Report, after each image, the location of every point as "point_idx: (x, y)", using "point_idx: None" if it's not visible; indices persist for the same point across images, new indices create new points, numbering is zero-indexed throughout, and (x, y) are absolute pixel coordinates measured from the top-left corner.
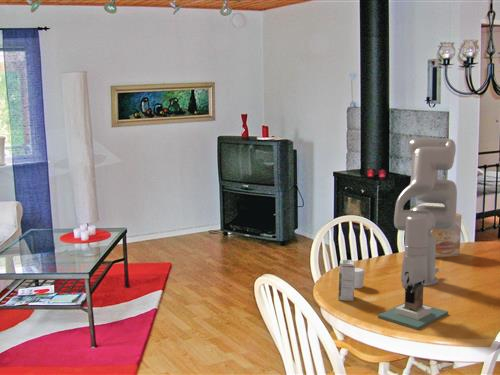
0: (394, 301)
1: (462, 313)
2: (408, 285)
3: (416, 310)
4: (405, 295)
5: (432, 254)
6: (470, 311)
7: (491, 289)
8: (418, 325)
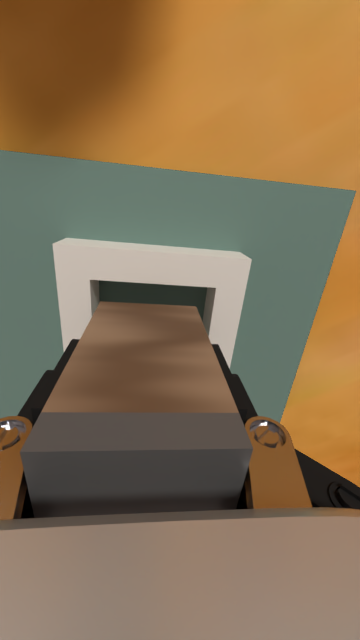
0: (337, 66)
1: (311, 443)
2: (12, 511)
3: (202, 316)
4: (75, 353)
5: None
6: (347, 452)
7: None
8: (16, 415)
